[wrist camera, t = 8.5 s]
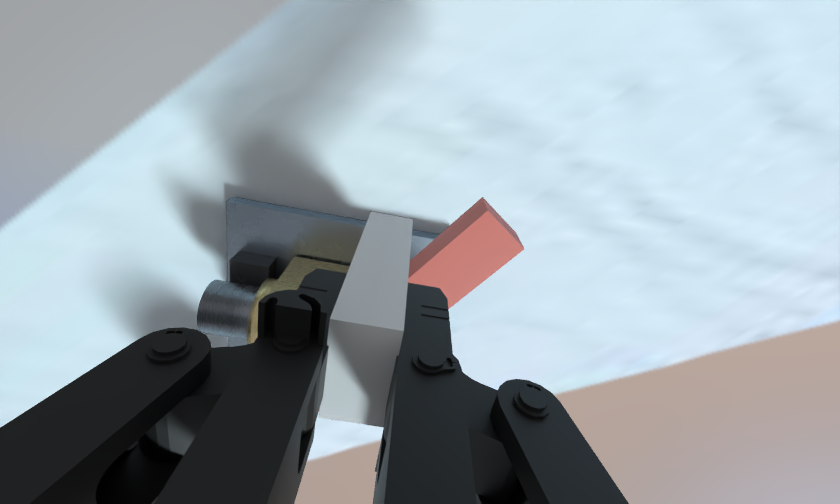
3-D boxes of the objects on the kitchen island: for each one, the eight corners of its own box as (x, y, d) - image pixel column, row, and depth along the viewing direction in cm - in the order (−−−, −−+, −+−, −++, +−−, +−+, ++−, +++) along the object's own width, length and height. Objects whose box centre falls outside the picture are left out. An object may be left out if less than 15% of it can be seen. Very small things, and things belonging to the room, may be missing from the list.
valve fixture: (234, 338, 38) (176, 419, 29) (233, 196, 32) (160, 245, 23) (423, 369, 39) (421, 456, 30) (455, 237, 33) (464, 298, 24)
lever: (310, 388, 27) (294, 430, 24) (279, 366, 26) (258, 406, 23) (510, 222, 22) (524, 248, 19) (479, 188, 21) (487, 210, 18)
